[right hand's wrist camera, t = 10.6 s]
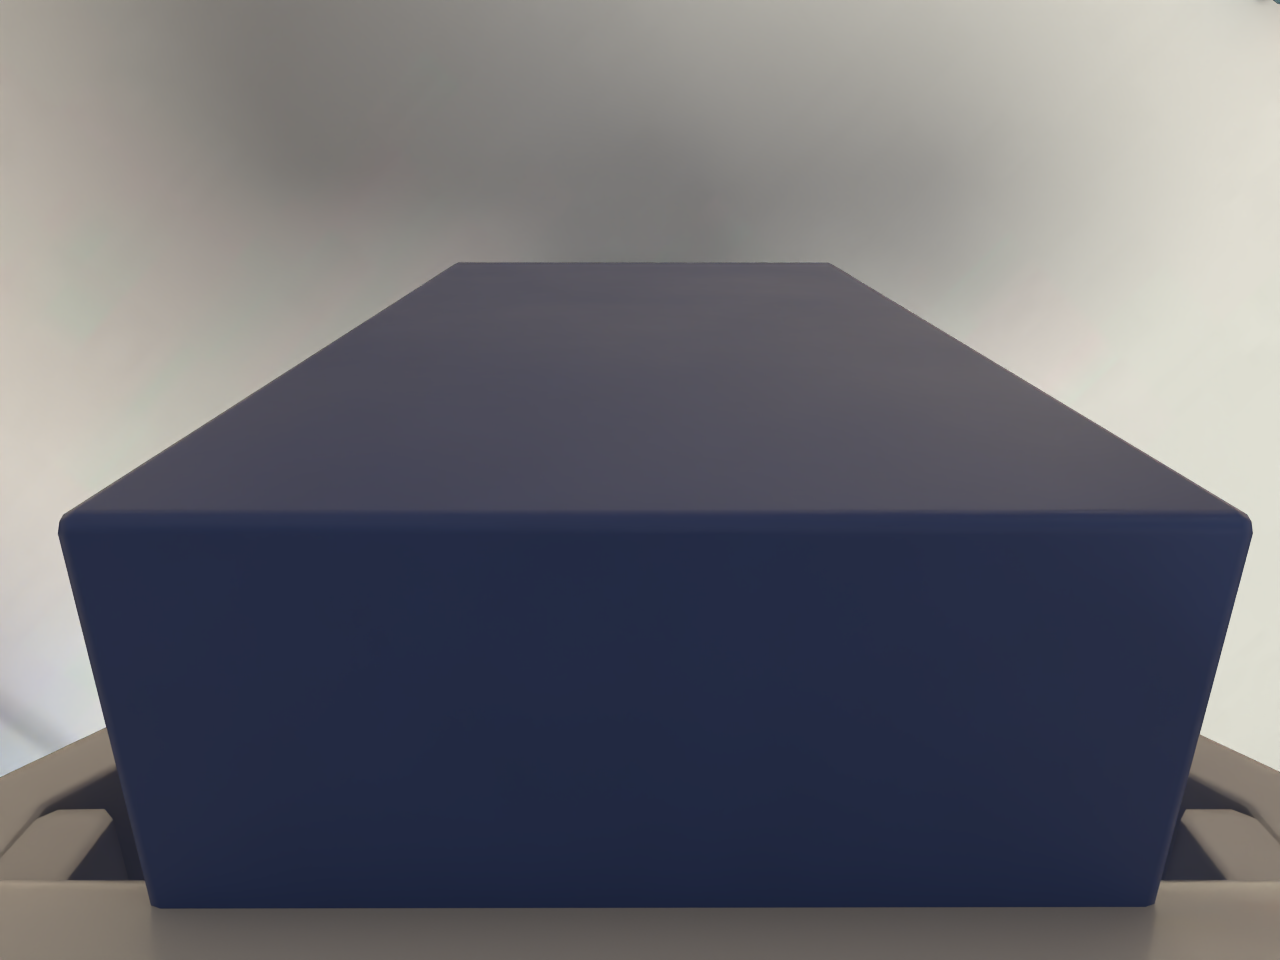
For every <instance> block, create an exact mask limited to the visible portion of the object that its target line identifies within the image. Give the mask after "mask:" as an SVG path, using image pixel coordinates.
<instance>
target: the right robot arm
mask: <svg viewBox="0 0 1280 960" xmlns="http://www.w3.org/2000/svg"><path fill="white" fill-rule="evenodd" d="M0 960H1280V772H1279V771H1277V770H1274V769H1272V768H1270V767H1268V766H1266V765H1264V764H1262V763H1260V762H1257V761H1255V760H1253V759H1251V758H1249V757H1247V756H1245V755H1242V754H1240V753H1238V752H1236V751H1234V750H1232V749H1230V748H1227V747H1225V746H1223V745H1221V744H1219V743H1217V742H1215V741H1213V740H1210V739H1208V738H1206V737H1204V736H1202V735H1200V734H1199V738H1198V742H1197V746H1196V749H1195V753H1194V757H1193V761H1192V764H1191V768H1190V772H1189V776H1188V780H1187V783H1186V787H1185V791H1184V795H1183V798H1182V802H1181V806H1180V810H1179V813H1178V817H1177V821H1176V825H1175V829H1174V832H1173V836H1172V840H1171V844H1170V847H1169V851H1168V855H1167V859H1166V863H1165V866H1164V870H1163V874H1162V878H1161V881H1160V885H1159V889H1158V893H1157V897H1156V900H1155V904H1152V905H1150V906H1147V907H845V908H233V909H160V908H157V907H154V906H151V904H150V900H149V896H148V892H147V888H146V884H145V880H144V876H143V872H142V868H141V864H140V860H139V856H138V852H137V848H136V844H135V840H134V836H133V832H132V828H131V824H130V820H129V816H128V812H127V808H126V804H125V800H124V796H123V792H122V788H121V784H120V780H119V776H118V772H117V768H116V764H115V760H114V756H113V752H112V748H111V744H110V740H109V736H108V732H107V728H104V729H102V730H99V731H97V732H95V733H93V734H91V735H89V736H87V737H85V738H82V739H80V740H78V741H76V742H74V743H72V744H70V745H68V746H65V747H63V748H61V749H59V750H57V751H55V752H53V753H51V754H48V755H46V756H44V757H42V758H40V759H38V760H36V761H34V762H32V763H29V764H27V765H25V766H23V767H21V768H19V769H17V770H15V771H12V772H10V773H8V774H6V775H4V776H2V777H0Z"/></svg>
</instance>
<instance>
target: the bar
mask: <svg viewBox="0 0 1280 960" xmlns="http://www.w3.org/2000/svg"><path fill="white" fill-rule="evenodd" d="M1252 534H1253V531H1252V523H1251V520H1250V519H1249V517H1248V515H1247V514H1245V513H1244V512H1242V511H1240V510H1239V509H1237V508H1235V507H1234V506H1232V505H1230V504H1229V503H1227V502H1225V501H1224V500H1222V499H1220V498H1219V497H1217V496H1215V495H1214V494H1212V493H1210V492H1209V491H1207V490H1205V489H1204V488H1202V487H1201V486H1199V485H1197V484H1196V483H1194V482H1192V481H1191V480H1189V479H1187V478H1186V477H1184V476H1182V475H1181V474H1179V473H1177V472H1176V471H1174V470H1172V469H1171V468H1169V467H1167V466H1166V465H1164V464H1162V463H1161V462H1159V461H1157V460H1156V459H1154V458H1152V457H1151V456H1149V455H1147V454H1146V453H1144V452H1142V451H1141V450H1139V449H1137V448H1136V447H1134V446H1132V445H1131V444H1129V443H1128V442H1126V441H1124V440H1123V439H1121V438H1119V437H1118V436H1116V435H1114V434H1113V433H1111V432H1109V431H1108V430H1106V429H1104V428H1103V427H1101V426H1099V425H1098V424H1096V423H1094V422H1093V421H1091V420H1089V419H1088V418H1086V417H1084V416H1083V415H1081V414H1079V413H1078V412H1076V411H1074V410H1073V409H1071V408H1069V407H1068V406H1066V405H1064V404H1063V403H1061V402H1059V401H1058V400H1056V399H1054V398H1053V397H1051V396H1050V395H1048V394H1046V393H1045V392H1043V391H1041V390H1040V389H1038V388H1036V387H1035V386H1033V385H1031V384H1030V383H1028V382H1026V381H1025V380H1023V379H1021V378H1020V377H1018V376H1016V375H1015V374H1013V373H1011V372H1010V371H1008V370H1006V369H1005V368H1003V367H1001V366H1000V365H998V364H996V363H995V362H993V361H991V360H990V359H988V358H986V357H985V356H983V355H981V354H980V353H978V352H977V351H975V350H973V349H972V348H970V347H968V346H967V345H965V344H963V343H962V342H960V341H958V340H957V339H955V338H953V337H952V336H950V335H948V334H947V333H945V332H943V331H942V330H940V329H938V328H937V327H935V326H933V325H932V324H930V323H928V322H927V321H925V320H923V319H922V318H920V317H918V316H917V315H915V314H913V313H912V312H910V311H908V310H907V309H905V308H904V307H902V306H900V305H899V304H897V303H895V302H894V301H892V300H890V299H889V298H887V297H885V296H884V295H882V294H880V293H879V292H877V291H875V290H874V289H872V288H870V287H869V286H867V285H865V284H864V283H862V282H860V281H859V280H857V279H855V278H854V277H852V276H850V275H849V274H847V273H845V272H844V271H842V270H840V269H839V268H837V267H835V266H834V265H832V264H830V263H457V264H454V265H453V266H451V267H450V268H448V269H447V270H445V271H443V272H442V273H440V274H439V275H437V276H436V277H434V278H433V279H431V280H429V281H428V282H426V283H425V284H423V285H422V286H420V287H418V288H417V289H415V290H414V291H412V292H411V293H409V294H408V295H406V296H404V297H403V298H401V299H400V300H398V301H397V302H395V303H393V304H392V305H390V306H389V307H387V308H386V309H384V310H383V311H381V312H379V313H378V314H376V315H375V316H373V317H372V318H370V319H368V320H367V321H365V322H364V323H362V324H361V325H359V326H358V327H356V328H354V329H353V330H351V331H350V332H348V333H347V334H345V335H343V336H342V337H340V338H339V339H337V340H336V341H334V342H333V343H331V344H329V345H328V346H326V347H325V348H323V349H322V350H320V351H318V352H317V353H315V354H314V355H312V356H311V357H309V358H307V359H306V360H304V361H303V362H301V363H300V364H298V365H297V366H295V367H293V368H292V369H290V370H289V371H287V372H286V373H284V374H282V375H281V376H279V377H278V378H276V379H275V380H273V381H272V382H270V383H268V384H267V385H265V386H264V387H262V388H261V389H259V390H257V391H256V392H254V393H253V394H251V395H250V396H248V397H247V398H245V399H243V400H242V401H240V402H239V403H237V404H236V405H234V406H232V407H231V408H229V409H228V410H226V411H225V412H223V413H222V414H220V415H218V416H217V417H215V418H214V419H212V420H211V421H209V422H207V423H206V424H204V425H203V426H201V427H200V428H198V429H197V430H195V431H193V432H192V433H190V434H189V435H187V436H186V437H184V438H182V439H181V440H179V441H178V442H176V443H175V444H173V445H172V446H170V447H168V448H167V449H165V450H164V451H162V452H161V453H159V454H157V455H156V456H154V457H153V458H151V459H150V460H148V461H147V462H145V463H143V464H142V465H140V466H139V467H137V468H136V469H134V470H132V471H131V472H129V473H128V474H126V475H125V476H123V477H122V478H120V479H118V480H117V481H115V482H114V483H112V484H111V485H109V486H107V487H106V488H104V489H103V490H101V491H100V492H98V493H96V494H95V495H93V496H92V497H90V498H89V499H87V500H86V501H84V502H82V503H81V504H79V505H78V506H76V507H75V508H73V509H71V510H70V511H68V512H67V513H65V514H64V515H63V516H62V518H61V520H60V522H59V529H58V536H59V540H60V544H61V548H62V552H63V556H64V560H65V564H66V568H67V572H68V576H69V580H70V584H71V588H72V592H73V596H74V600H75V604H76V608H77V612H78V616H79V620H80V624H81V628H82V632H83V636H84V640H85V644H86V648H87V652H88V656H89V660H90V664H91V668H92V672H93V676H94V680H95V684H96V688H97V692H98V696H99V700H100V704H101V708H102V712H103V716H104V720H105V724H106V728H107V732H108V736H109V740H110V744H111V748H112V752H113V756H114V760H115V764H116V768H117V772H118V776H119V780H120V784H121V788H122V792H123V796H124V800H125V804H126V808H127V812H128V816H129V820H130V824H131V828H132V832H133V836H134V840H135V844H136V848H137V852H138V856H139V860H140V864H141V868H142V872H143V876H144V880H145V884H146V888H147V892H148V896H149V900H150V904H151V906H154V907H157V908H160V909H233V908H845V907H1147V906H1150V905H1152V904H1155V900H1156V897H1157V893H1158V889H1159V885H1160V881H1161V878H1162V874H1163V870H1164V866H1165V863H1166V859H1167V855H1168V851H1169V847H1170V844H1171V840H1172V836H1173V832H1174V829H1175V825H1176V821H1177V817H1178V813H1179V810H1180V806H1181V802H1182V798H1183V795H1184V791H1185V787H1186V783H1187V780H1188V776H1189V772H1190V768H1191V764H1192V761H1193V757H1194V753H1195V749H1196V746H1197V742H1198V738H1199V734H1200V730H1201V727H1202V723H1203V719H1204V715H1205V712H1206V708H1207V704H1208V700H1209V696H1210V693H1211V689H1212V685H1213V681H1214V678H1215V674H1216V670H1217V666H1218V663H1219V659H1220V655H1221V651H1222V647H1223V644H1224V640H1225V636H1226V632H1227V629H1228V625H1229V621H1230V617H1231V613H1232V610H1233V606H1234V602H1235V598H1236V595H1237V591H1238V587H1239V583H1240V580H1241V576H1242V572H1243V568H1244V564H1245V561H1246V557H1247V553H1248V549H1249V546H1250V542H1251V538H1252Z"/></svg>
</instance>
